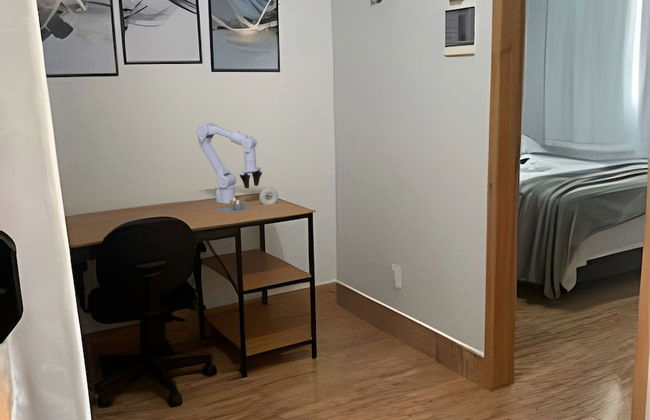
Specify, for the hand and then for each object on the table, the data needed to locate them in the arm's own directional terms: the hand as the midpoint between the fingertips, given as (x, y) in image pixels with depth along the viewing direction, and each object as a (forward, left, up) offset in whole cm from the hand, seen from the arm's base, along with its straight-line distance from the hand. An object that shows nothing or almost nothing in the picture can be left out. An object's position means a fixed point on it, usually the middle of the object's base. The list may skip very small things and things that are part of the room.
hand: (251, 186), depth 325 cm
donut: (+9, +2, -10) cm, 14 cm away
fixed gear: (+4, -16, -8) cm, 18 cm away
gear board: (+1, -15, -10) cm, 18 cm away
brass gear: (-1, -12, -8) cm, 15 cm away
